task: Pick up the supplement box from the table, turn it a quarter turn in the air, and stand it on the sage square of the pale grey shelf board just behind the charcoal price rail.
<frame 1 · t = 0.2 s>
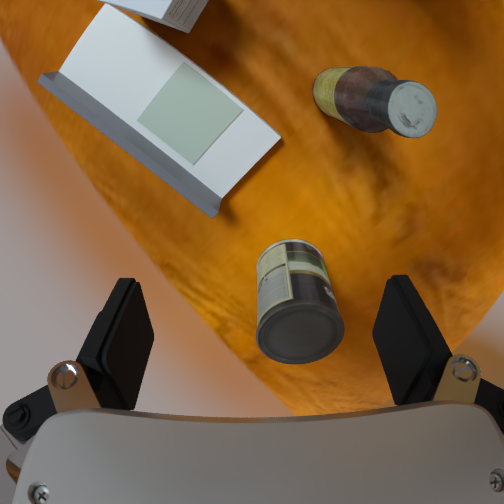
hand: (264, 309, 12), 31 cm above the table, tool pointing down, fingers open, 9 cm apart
sauce bottle: (336, 90, 35), on the table
supplement box: (178, 0, 29), on the table
price rail: (126, 137, 34), on the shelf board, point 4 cm above the table
coffee can: (290, 267, 48), on the table
shelf board: (161, 98, 35), on the table
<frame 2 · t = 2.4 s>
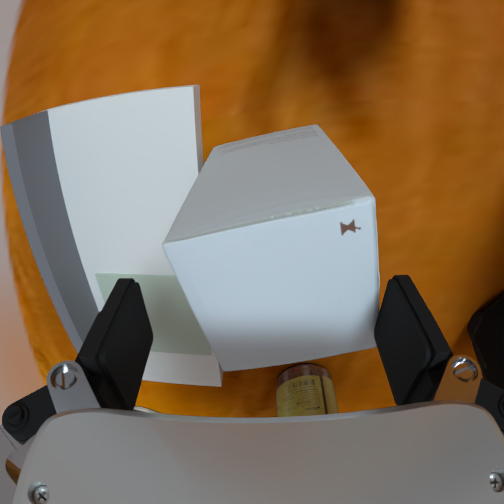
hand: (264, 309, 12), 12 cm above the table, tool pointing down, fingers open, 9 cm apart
sauce bottle: (305, 376, 34), on the table
supplement box: (276, 181, 22), on the table, touching gripper
price rail: (70, 291, 23), on the shelf board, point 4 cm above the table
portable speaker: (493, 314, 29), on the table
shelf board: (142, 265, 26), on the table
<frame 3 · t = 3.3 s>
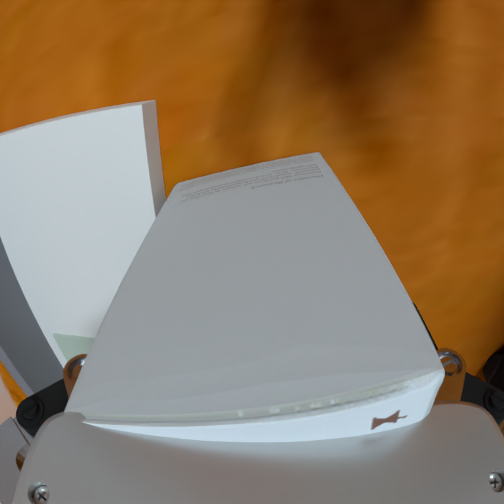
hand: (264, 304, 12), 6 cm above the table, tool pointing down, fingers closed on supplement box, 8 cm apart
supplement box: (261, 228, 17), on the table, touching gripper
price rail: (26, 354, 17), on the shelf board, point 4 cm above the table
shelf board: (106, 322, 21), on the table
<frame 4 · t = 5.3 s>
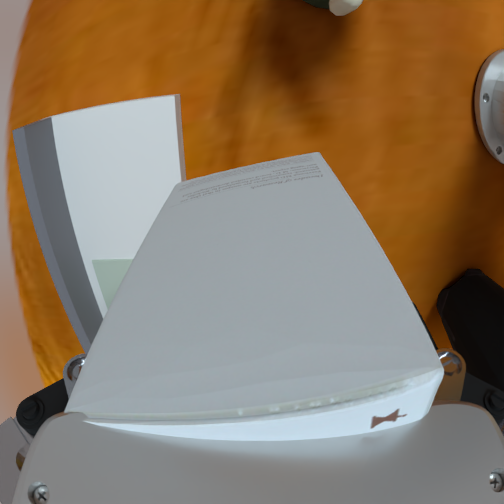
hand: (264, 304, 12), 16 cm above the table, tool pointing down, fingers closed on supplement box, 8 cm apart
supplement box: (261, 228, 17), point 10 cm above the table, touching gripper
price rail: (69, 276, 26), on the shelf board, point 4 cm above the table
portable speaker: (460, 292, 34), on the table
shelf board: (132, 252, 29), on the table
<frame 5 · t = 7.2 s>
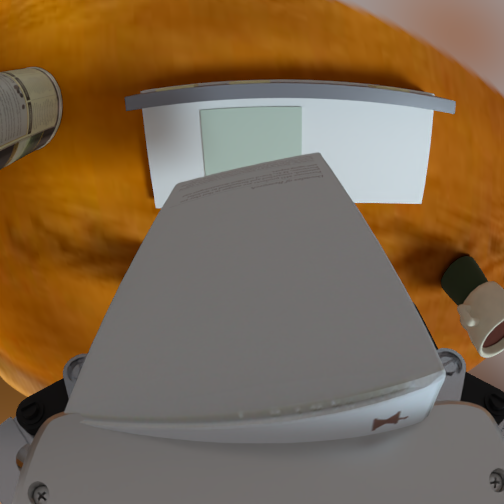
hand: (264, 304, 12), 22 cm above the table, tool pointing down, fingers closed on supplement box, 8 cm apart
supplement box: (261, 228, 17), point 16 cm above the table, touching gripper
price rail: (298, 88, 24), on the shelf board, point 4 cm above the table
coffee can: (30, 108, 27), on the table
character mug: (456, 271, 39), on the table
shelf board: (293, 139, 30), on the table
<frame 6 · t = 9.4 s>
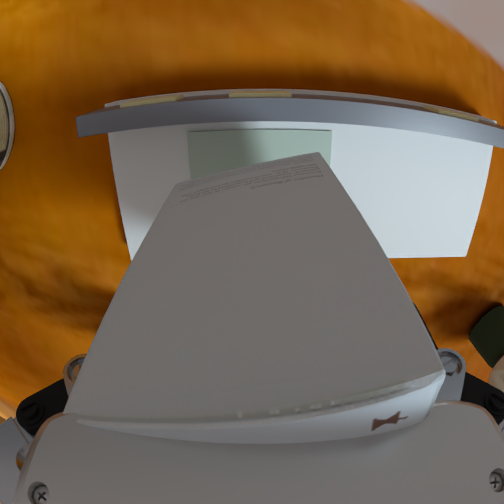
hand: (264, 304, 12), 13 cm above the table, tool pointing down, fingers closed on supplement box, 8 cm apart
supplement box: (261, 228, 17), point 7 cm above the table, touching gripper
price rail: (332, 106, 16), on the shelf board, point 4 cm above the table
character mug: (486, 321, 31), on the table
shelf board: (315, 172, 22), on the table
when the fingers open (9 cm above the table, at t = 11.1 s): supplement box stays where it is, resting on shelf board.
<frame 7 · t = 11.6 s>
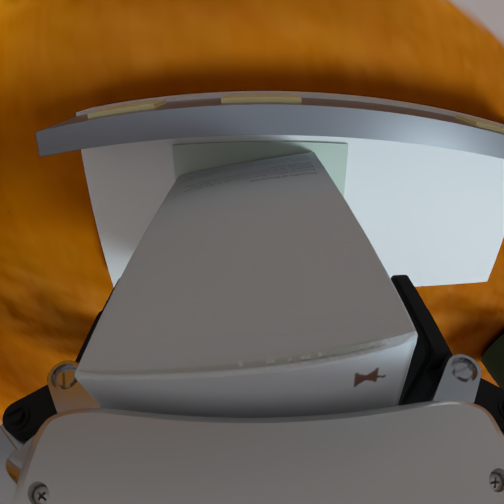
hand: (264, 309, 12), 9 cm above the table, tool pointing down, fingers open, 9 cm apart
supplement box: (257, 221, 18), point 2 cm above the table, touching shelf board
price rail: (351, 114, 13), on the shelf board, point 4 cm above the table
character mug: (499, 341, 28), on the table
shelf board: (326, 191, 19), on the table
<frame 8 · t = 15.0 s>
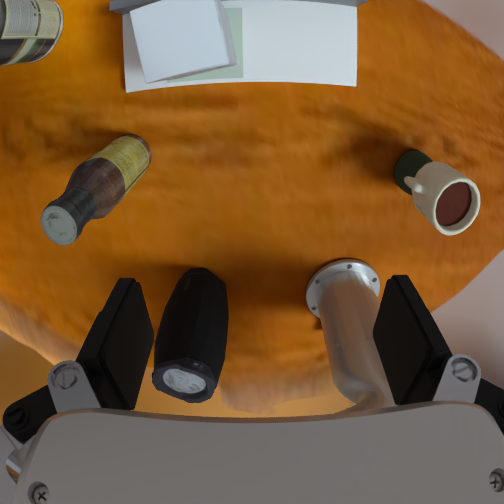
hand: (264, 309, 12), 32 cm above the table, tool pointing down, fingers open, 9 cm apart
sauce bottle: (132, 155, 41), on the table
supplement box: (201, 44, 31), point 2 cm above the table, touching shelf board
portable speaker: (202, 286, 52), on the table
coffee can: (37, 30, 29), on the table
character mug: (410, 169, 41), on the table
shelf board: (238, 36, 33), on the table
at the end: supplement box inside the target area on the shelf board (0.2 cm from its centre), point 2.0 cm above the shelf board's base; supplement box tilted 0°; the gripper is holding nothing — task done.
